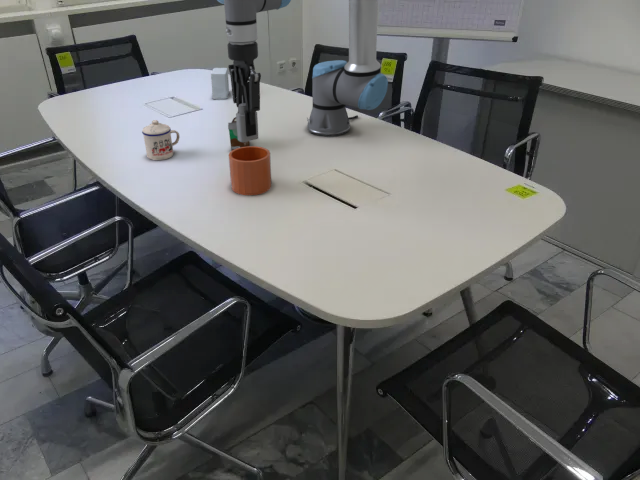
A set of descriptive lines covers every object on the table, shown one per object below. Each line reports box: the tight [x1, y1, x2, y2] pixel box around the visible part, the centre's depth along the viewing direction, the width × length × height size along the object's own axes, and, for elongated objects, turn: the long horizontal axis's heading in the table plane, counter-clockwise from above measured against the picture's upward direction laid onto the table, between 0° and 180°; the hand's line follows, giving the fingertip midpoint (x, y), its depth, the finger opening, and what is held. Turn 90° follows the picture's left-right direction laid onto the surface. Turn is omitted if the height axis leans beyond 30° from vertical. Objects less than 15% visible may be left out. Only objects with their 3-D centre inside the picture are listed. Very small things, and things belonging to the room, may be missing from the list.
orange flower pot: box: [228, 145, 272, 196], centre depth 152 cm, size 12×12×10 cm
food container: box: [227, 111, 251, 152], centre depth 179 cm, size 12×6×10 cm, turn 168°
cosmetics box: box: [210, 67, 230, 100], centre depth 228 cm, size 10×6×10 cm, turn 179°
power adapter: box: [235, 95, 259, 142], centre depth 144 cm, size 3×5×12 cm, turn 121°
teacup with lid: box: [141, 119, 181, 161], centre depth 174 cm, size 12×9×12 cm
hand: (248, 133), depth 146 cm, fingers closed on power adapter, 3 cm apart
